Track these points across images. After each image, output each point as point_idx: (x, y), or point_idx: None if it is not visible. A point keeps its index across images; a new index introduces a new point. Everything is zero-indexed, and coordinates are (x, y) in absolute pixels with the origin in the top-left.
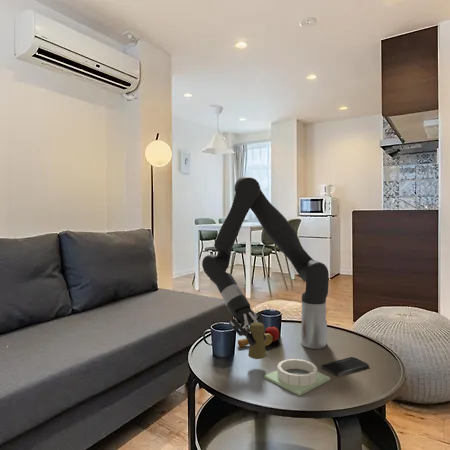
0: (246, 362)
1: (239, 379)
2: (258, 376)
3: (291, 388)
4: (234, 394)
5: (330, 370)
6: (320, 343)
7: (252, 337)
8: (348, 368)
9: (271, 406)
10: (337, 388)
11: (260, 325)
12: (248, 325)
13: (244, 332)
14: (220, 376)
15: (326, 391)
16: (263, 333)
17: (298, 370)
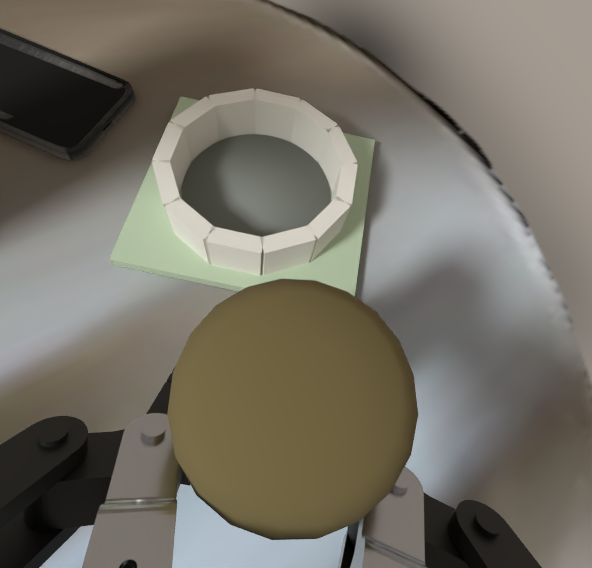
0: None
1: (450, 408)
2: None
3: (367, 171)
4: (556, 338)
5: (111, 111)
6: None
7: None
8: (45, 68)
9: (496, 189)
10: (234, 74)
11: (324, 296)
12: (372, 544)
13: (470, 501)
14: (510, 526)
15: None
16: (170, 386)
17: (200, 207)
